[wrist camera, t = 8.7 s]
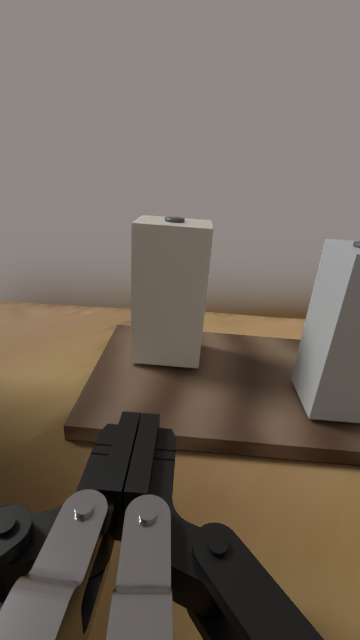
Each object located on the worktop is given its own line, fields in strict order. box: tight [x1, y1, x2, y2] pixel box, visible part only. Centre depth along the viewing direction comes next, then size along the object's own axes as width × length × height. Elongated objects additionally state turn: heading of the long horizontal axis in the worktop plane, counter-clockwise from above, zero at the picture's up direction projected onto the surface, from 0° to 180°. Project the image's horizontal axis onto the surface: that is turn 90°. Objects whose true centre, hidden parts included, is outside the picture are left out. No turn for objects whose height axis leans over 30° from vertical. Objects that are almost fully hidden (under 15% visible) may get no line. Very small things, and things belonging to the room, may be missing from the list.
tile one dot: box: [131, 215, 213, 369], centre depth 29 cm, size 6×5×12 cm
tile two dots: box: [291, 239, 360, 423], centre depth 23 cm, size 6×5×12 cm
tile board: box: [64, 325, 360, 466], centre depth 29 cm, size 26×16×1 cm, turn 87°
